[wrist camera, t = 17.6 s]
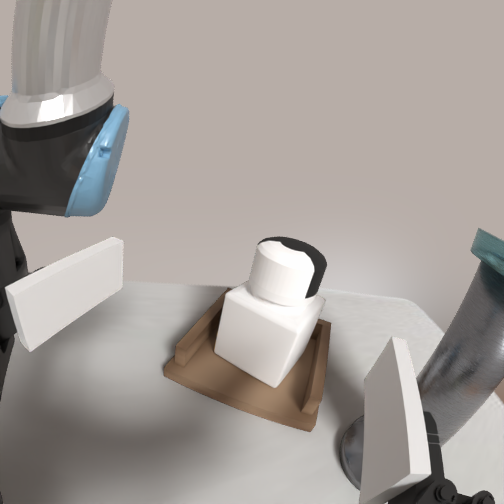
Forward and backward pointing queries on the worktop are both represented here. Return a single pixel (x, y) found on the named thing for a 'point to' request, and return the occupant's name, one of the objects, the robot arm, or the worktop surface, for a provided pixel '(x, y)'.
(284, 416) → the notched board
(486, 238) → the bobbin post
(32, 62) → the robot arm
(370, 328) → the worktop surface
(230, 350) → the medicine bottle
